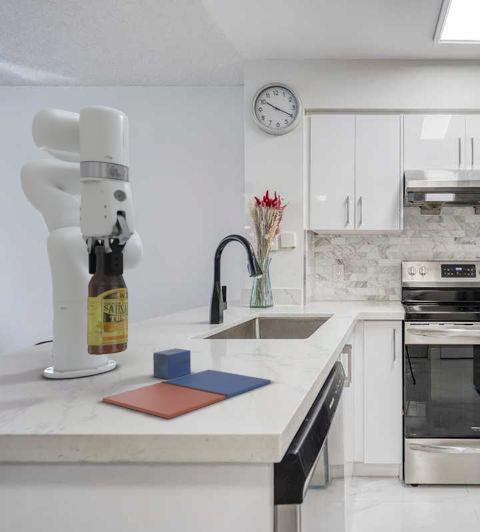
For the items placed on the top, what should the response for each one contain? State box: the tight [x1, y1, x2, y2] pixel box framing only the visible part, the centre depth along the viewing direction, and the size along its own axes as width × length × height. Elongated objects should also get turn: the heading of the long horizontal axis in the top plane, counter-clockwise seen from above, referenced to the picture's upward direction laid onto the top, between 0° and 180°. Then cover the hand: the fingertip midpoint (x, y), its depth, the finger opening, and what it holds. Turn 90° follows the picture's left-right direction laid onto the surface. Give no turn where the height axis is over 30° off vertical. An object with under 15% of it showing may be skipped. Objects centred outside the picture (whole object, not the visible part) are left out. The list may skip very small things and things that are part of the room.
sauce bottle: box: [87, 246, 129, 355], centre depth 78 cm, size 7×6×20 cm
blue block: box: [152, 347, 192, 380], centre depth 88 cm, size 5×5×5 cm
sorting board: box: [102, 369, 272, 420], centre depth 76 cm, size 18×21×1 cm
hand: (106, 273), depth 78 cm, fingers closed on sauce bottle, 4 cm apart
